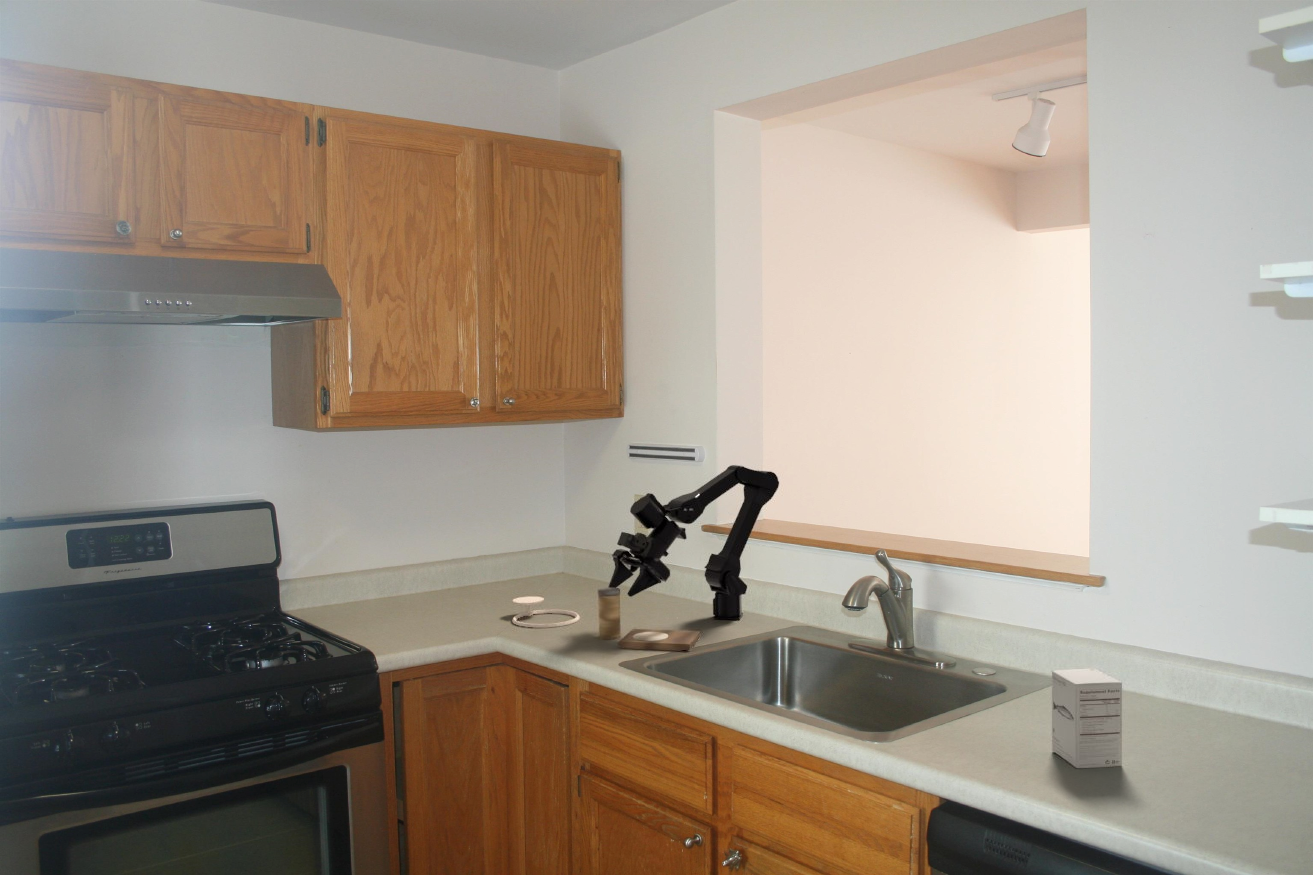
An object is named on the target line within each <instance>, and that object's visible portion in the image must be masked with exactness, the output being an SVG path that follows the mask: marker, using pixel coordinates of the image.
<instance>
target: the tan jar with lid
mask: <svg viewBox="0 0 1313 875" xmlns="http://www.w3.org/2000/svg"><path fill="white" fill-rule="evenodd" d="M597 596H598V637H599V638H600V639H603V640H615V639H619V638H621V635H622V633H621V632H622V631H621V627H622V626H621V588H619V587H616V588H608V587H602V588H598V589H597Z"/></svg>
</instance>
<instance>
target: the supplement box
mask: <svg viewBox="0 0 1313 875" xmlns="http://www.w3.org/2000/svg"><path fill="white" fill-rule="evenodd" d="M1122 728H1123V683H1122V682H1121V681H1120V680H1118V679H1116V678H1114V677H1112V676H1110V675H1108V674H1106V673H1105V672H1101V671H1100V670H1098V669H1096V668H1078V669H1077V668H1075V669H1074V668H1073V669H1059V670H1058V669H1057V670H1051V751H1052V752H1053V753H1056V754H1057V755H1058V756H1060V757H1061V758H1063V759H1064V760H1065V761H1067V763H1069V764H1071V765H1072V766H1073V767H1074V768H1075V769H1092V768H1093V769H1094V768H1111V767H1121V766H1122V765H1123V755H1122V754H1123V729H1122Z"/></svg>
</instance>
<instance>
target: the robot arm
mask: <svg viewBox="0 0 1313 875" xmlns="http://www.w3.org/2000/svg"><path fill="white" fill-rule="evenodd" d="M738 484H739V485H742V486H743V502H742V504H741V507H740V509H739V511H738V513H737V516H736V518H735V521H734V522H733V524H732V526H731V529H730V532H729V534H728V536H727V538H726V540H725V543H724V545H723V548H722V549H721V551H720V552H718V553H717V554H716V553H711V554H710V556H709V558H708V562H707V564H706V565H705V566H704V569H705V571H704V577H705V582H706V583H707V584H708V586H709V588H710V591H711V592H714V597H713V599H712V615H713V619H714V620H737V621H738V620H741V618H742V617H743V615H744V612H743V611H742V609H743V608H742V607H743V606H742V604H743V603H742V595H746V593H747V589H748V585H747V584H746V583H745V582H744V581H743V579H741V578H740V575H741V574H740V573H741V570H742V568H741V557H742V554H743V553H744V550H745V547H746V545H747V542H748V541H749V538H750V536H751V534H752V532H753V529H754V527H755V524H756V523H757V522H756V521H757V520H758V517H759V515H760V513H761V510H762V508H763V507H764V506H765V505H766V504H767V503H768V502H770V501H771V499H773V497H774V496H775V494H776V492H777V491H778V489H779V486H780V481H779V477H778V475H777V474H776V473H775V472H773V471H768V470H767V471H766V470H754V469H751V468H748V467H745V466H743V465H737V464H734V465H733V464H732V465H729V466H728V467H727V468H726V469H725V470H724V471H722V472H721V473H719V474H718V475H716V476H715V477H713V478H712V479H710V480H709V481H707V482H706V483H704V484H703V485H701V486H700V487H699V488H697V489H696V490H694V491H692V492H689V493H686V494H682V495H680V496H679V495H678V496H677V497H675V498H673V499H671V500H670V501H668V503H666V504H663V505H662V504H661V502H660V501H659V500H658V499H657V497H656V496H655V494H653V493H649V492H647V493H645V494H646V495H644V496H642V497H640V498H639V499H638V500H637V501H634V502H633V503H632V505H631V507H630V510H629V511H630V514H631V515H632V516H633V517H634V518H635V519H636V520H637V521H638V522H639V523H640V524H641V525H642V526H643V528H644V529H647V530H650V529H652V530H651V532H650V533H649V534H648V535H646V534H644V533H641V532H636V533H635V534H633V533H629V532H623V531H621V532H620V535H619V537H618V541H617V543H616V544H617V545H618V546H620V547H624V548H626V549H629V550H626V549H622V548H619V549H615V550H614V551H613V553H612V554H611V556H612V561H613V562H614V570H613V572H612V576H611V579H610V582H609V583H608V586H607V588H619V586H620V585H622V584H623V583H624V582H626V581H627V580H629V579H631V577H633V576H634V573H635V572H637V570H638V569H639V574H638V576H637V577H636V579H635V580H634V581H633V583H632V585H631V587H630V588H629V590H628V592H627V596H628V597H630V598H632V597H634V596H636V595H637V594H640V593H641V592H643V591H645V590H647V589H650V588H651V587H653V586H655V585H658V584H662V582H665V583H666V582H667V581H668V579H669V578H670V577H671V569H669V567H668V566H667V565H665V563H664V562H663V561H662V560H661V559H662V557H665V558H666V557H668V555H669V552H668V549H669V548H670V547H671V546H672V544H674V542H675V541H676V540H677V539H680V540H683V541H684V540H687V538H688V537H687V532H686V527H683V526H681V527H680V526H679V525H678V524H677V523H680V524H684V525H685V524H686V525H691V524H693V523H695V521H697V519H698V518H700V516H701V515H703V513H704V511H705V509H706V507H708V505H709V504H711V503H712V502H714V501H715V500H717V499H719V498H720V497H721V496H723V495H724V494H726V493H727V492H728V491H730V490H731V489H733V488H734V487H736V486H737V485H738Z"/></svg>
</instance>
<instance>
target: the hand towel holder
mask: <svg viewBox="0 0 1313 875" xmlns="http://www.w3.org/2000/svg"><path fill="white" fill-rule="evenodd" d="M544 600H545V597H541V596H522V597H516V598H513V599H512V602H513V603H514V604H515V605H519V606H525V612H521V613H519V614H516V615H515V616H513V618H512V620H511V621H512V623H513V624H514V625H515V624H516V625H515V626H517V625H520V626H519V627H521V626H525V627H524V628H528V627H533V628H532V629H536V628H537V629H548V628H559V626H560V627H565V626H569V625H570V626H571V625H573V624H575V623H578V621H579V620H580V615H579V614H578V613H577V612H575V611H572V610H565V609H538V610H537V609H536V610H532V606H533V605H538V604H540V603H541V604H542V603H543V601H544ZM547 613H552V614H553V615H554V614H556V615H557V614H558V615H568V616H571V617H574V618H572V619H569V620H567V621H566V620H565V621H562V622H556V623H555V622H554V623H527V622H526V623H525V622H522V621H521V622H520V621H518V620H519V619H521V618H520V617H522V618H524V617H523V616H525V617H532V616H534V615H533V614H536V615H547ZM552 614H551V615H552ZM531 615H532V616H531ZM518 618H519V619H518Z"/></svg>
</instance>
